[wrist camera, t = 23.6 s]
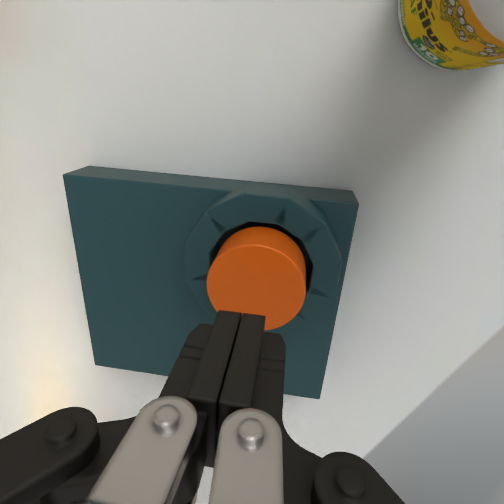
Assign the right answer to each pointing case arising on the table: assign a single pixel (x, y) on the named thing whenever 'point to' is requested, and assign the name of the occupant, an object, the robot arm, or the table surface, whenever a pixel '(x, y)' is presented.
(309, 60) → the table surface
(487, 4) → the supplement bottle
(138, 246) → the teal button base
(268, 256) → the button
